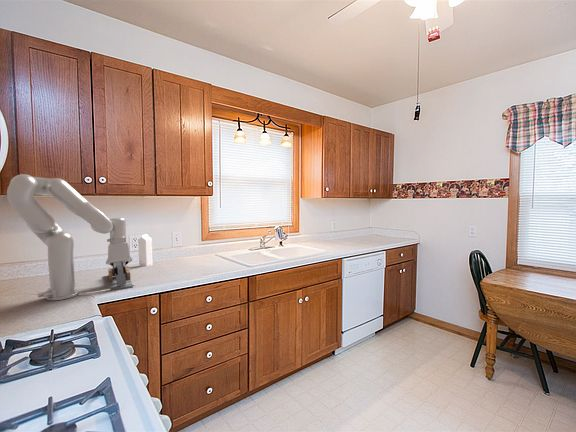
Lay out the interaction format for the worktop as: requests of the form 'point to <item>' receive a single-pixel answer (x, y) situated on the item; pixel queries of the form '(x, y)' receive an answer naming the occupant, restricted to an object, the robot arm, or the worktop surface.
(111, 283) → the cubby
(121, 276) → the grey long bar
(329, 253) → the worktop surface
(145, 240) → the milk
